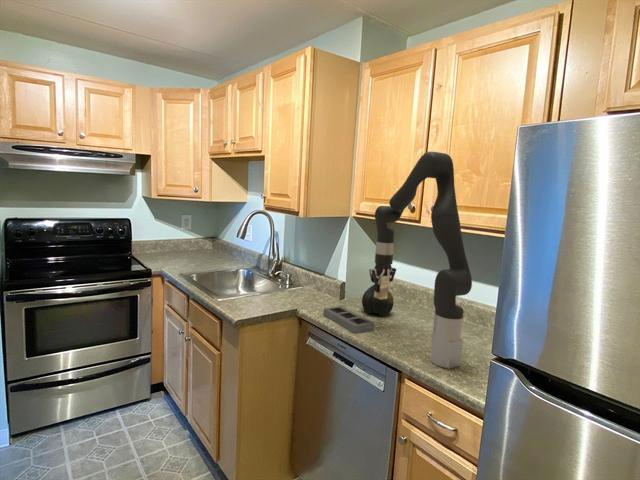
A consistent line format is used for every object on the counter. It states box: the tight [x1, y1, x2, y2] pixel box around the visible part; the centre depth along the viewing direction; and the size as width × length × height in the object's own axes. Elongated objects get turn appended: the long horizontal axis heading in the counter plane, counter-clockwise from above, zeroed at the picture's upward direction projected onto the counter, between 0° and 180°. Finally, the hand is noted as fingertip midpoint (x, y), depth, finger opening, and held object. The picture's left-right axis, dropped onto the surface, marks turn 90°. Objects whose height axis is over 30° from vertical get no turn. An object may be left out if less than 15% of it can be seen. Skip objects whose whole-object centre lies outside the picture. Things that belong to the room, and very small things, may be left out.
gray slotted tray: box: [322, 306, 375, 334], centre depth 165 cm, size 24×10×3 cm, turn 32°
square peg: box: [374, 275, 390, 300], centre depth 162 cm, size 4×4×10 cm
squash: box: [361, 283, 395, 317], centre depth 180 cm, size 14×15×15 cm
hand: (381, 291), depth 162 cm, fingers closed on square peg, 4 cm apart
